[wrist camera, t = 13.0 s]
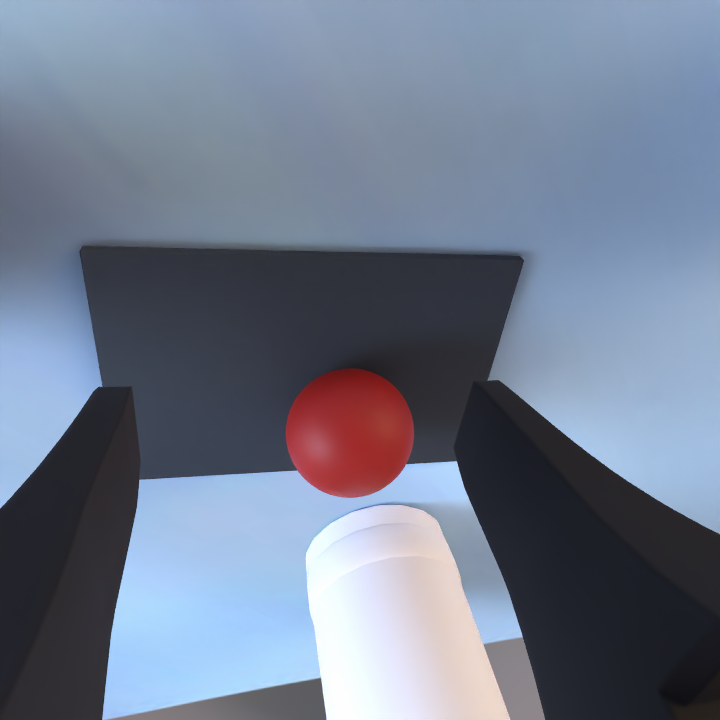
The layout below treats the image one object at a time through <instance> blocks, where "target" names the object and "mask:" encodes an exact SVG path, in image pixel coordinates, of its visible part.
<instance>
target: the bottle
mask: <svg viewBox="0 0 720 720" xmlns="http://www.w3.org/2000/svg"><path fill="white" fill-rule="evenodd" d="M306 570H307V586H308V599H309V608H310V614H311V619H312V621H313V623H314V629H315V636H316V644H317V651H318V658H319V666H320V673H321V680H322V687H323V695H324V703H325V710H326V717H327V720H510V718H509V715H508V712H507V709H506V707H505V704H504V701H503V698H502V695H501V693H500V690H499V687H498V684H497V681H496V679H495V676H494V673H493V670H492V668H491V665H490V662H489V659H488V657H487V654H486V651H485V648H484V646H483V643H482V640H481V637H480V635H479V632H478V629H477V626H476V624H475V621H474V618H473V615H472V613H471V610H470V607H469V604H468V601H467V599H466V596H465V593H464V590H463V588H462V585H461V577H460V574H459V571H458V568H457V565H456V562H455V560H454V558H453V555H452V553H451V551H450V549H449V546H448V544H447V542H446V540H445V538H444V535H443V533H442V530H441V528H440V526H439V524H438V521H437V520H436V519H434V518H433V517H432V516H430V515H429V514H427V513H426V512H425V511H423V510H420V509H416V508H412V507H408V506H404V505H376V506H372V507H368V508H364V509H360V510H357V511H353V512H351V513H349V514H347V515H345V516H343V517H341V518H339V519H337V520H335V521H333V522H331V523H330V524H329V525H328V526H327V527H326V528H325V529H324V530H323V531H321V532H320V533H319V534H318V535H317V536H316V537H315V538H314V539H313V541H312V543H311V545H310V547H309V549H308V551H307V553H306Z"/></svg>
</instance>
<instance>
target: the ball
mask: <svg viewBox="0 0 720 720" xmlns="http://www.w3.org/2000/svg"><path fill="white" fill-rule="evenodd" d="M413 441H414V424H413V419H412V415H411V412H410V409H409V407H408V405H407V402H406V401H405V399H404V397H403V396H402V395H401V393H400V392H399V391H398V390H397V388H396V387H395V386H393V385H392V384H391V383H390V382H389V381H387V380H386V379H384V378H383V377H381V376H379V375H377V374H375V373H373V372H370V371H366V370H362V369H353V368H349V369H339V370H334V371H330V372H328V373H325V374H323V375H321V376H319V377H317V378H316V379H314V380H313V381H311V382H310V383H309V384H308V385H307V386H305V388H304V389H303V390H302V391H301V392H300V393H299V394H298V396H297V397H296V399H295V401H294V403H293V405H292V407H291V409H290V411H289V415H288V418H287V424H286V442H287V448H288V452H289V454H290V457H291V460H292V462H293V464H294V465H295V467H296V469H297V470H298V472H299V473H300V474H301V475H302V477H303V478H304V479H305V480H306V481H308V482H309V483H310V484H311V485H313V486H314V487H316V488H317V489H319V490H321V491H323V492H325V493H327V494H330V495H334V496H338V497H345V498H353V497H361V496H366V495H370V494H372V493H375V492H377V491H379V490H381V489H383V488H384V487H386V486H387V485H388V484H390V483H391V482H392V481H393V480H394V479H395V478H396V477H397V476H398V475H399V474H400V473H401V471H402V470H403V468H404V467H405V465H406V463H407V461H408V459H409V457H410V454H411V451H412V447H413Z"/></svg>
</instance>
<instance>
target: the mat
mask: <svg viewBox="0 0 720 720" xmlns="http://www.w3.org/2000/svg"><path fill="white" fill-rule="evenodd" d="M80 257H81V263H82V269H83V275H84V281H85V286H86V292H87V298H88V304H89V310H90V316H91V321H92V327H93V333H94V339H95V345H96V350H97V356H98V362H99V368H100V374H101V380H102V385H103V387H124V386H132V391H133V399H134V408H135V416H136V425H137V433H138V441H139V450H140V458H141V464H140V477H139V480H140V479H157V478H174V477H192V476H209V475H226V474H243V473H260V472H278V471H295V470H297V469H296V467H295V465H294V464H293V462H292V460H291V457H290V454H289V452H288V448H287V442H286V424H287V418H288V415H289V411H290V409H291V407H292V405H293V403H294V401H295V399H296V397H297V396H298V394H299V393H300V392H301V391H302V390H303V389H304V388H305V386H307V385H308V384H309V383H310V382H311V381H313V380H314V379H316V378H317V377H319V376H321V375H323V374H325V373H328V372H330V371H334V370H339V369H349V368H353V369H362V370H366V371H370V372H373V373H375V374H377V375H379V376H381V377H383V378H384V379H386V380H387V381H389V382H390V383H391V384H392V385H393V386H395V387H396V388H397V390H398V391H399V392H400V393H401V395H402V396H403V397H404V399H405V401H406V402H407V405H408V407H409V409H410V412H411V415H412V419H413V424H414V441H413V447H412V451H411V454H410V457H409V459H408V461H407V463H406V464H415V463H432V462H450V461H457V459H456V455H455V452H454V448H453V447H454V444H455V440H456V437H457V434H458V430H459V427H460V424H461V420H462V417H463V414H464V410H465V407H466V404H467V400H468V397H469V394H470V391H471V387H472V384H473V381H487V380H488V377H489V373H490V370H491V367H492V364H493V360H494V357H495V354H496V350H497V347H498V344H499V341H500V337H501V334H502V331H503V327H504V324H505V321H506V318H507V314H508V311H509V308H510V305H511V301H512V298H513V295H514V291H515V288H516V285H517V282H518V278H519V275H520V272H521V268H522V265H523V262H524V260H523V259H522V258H521V256H497V255H452V254H408V253H363V252H318V251H274V250H229V249H185V248H140V247H95V246H82V247H81V249H80Z"/></svg>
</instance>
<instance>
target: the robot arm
mask: <svg viewBox="0 0 720 720" xmlns="http://www.w3.org/2000/svg"><path fill="white" fill-rule="evenodd" d="M453 448H454V452H455V455H456V459H457V463H458V467H459V471H460V474H461V477H462V481H463V484H464V487H465V490H466V492H467V495H468V497H469V500H470V502H471V504H472V507H473V509H474V511H475V514H476V516H477V518H478V521H479V523H480V525H481V527H482V530H483V532H484V534H485V537H486V539H487V541H488V543H489V546H490V548H491V550H492V553H493V555H494V557H495V559H496V562H497V564H498V566H499V569H500V571H501V573H502V576H503V578H504V581H505V583H506V586H507V589H508V591H509V594H510V597H511V600H512V604H513V607H514V610H515V613H516V616H517V619H518V623H519V626H520V629H521V632H522V635H523V639H524V642H525V645H526V649H527V653H528V656H529V659H530V663H531V666H532V670H533V673H534V677H535V681H536V685H537V689H538V693H539V696H540V700H541V704H542V708H543V712H544V716H545V720H720V534H718V533H716V532H714V531H712V530H710V529H708V528H706V527H704V526H702V525H700V524H699V523H697V522H695V521H693V520H691V519H689V518H688V517H686V516H684V515H682V514H680V513H679V512H677V511H675V510H673V509H671V508H670V507H668V506H666V505H665V504H663V503H661V502H659V501H658V500H656V499H655V498H653V497H651V496H650V495H648V494H647V493H645V492H644V491H642V490H640V489H639V488H637V487H636V486H634V485H633V484H631V483H629V482H628V481H626V480H625V479H623V478H622V477H621V476H619V475H618V474H616V473H615V472H613V471H612V470H610V469H609V468H608V467H606V466H605V465H604V464H602V463H601V462H600V461H598V460H597V459H596V458H594V457H593V456H591V455H590V454H589V453H587V452H586V451H585V450H584V449H582V448H581V447H580V446H578V445H577V444H576V443H575V442H573V441H572V440H571V439H570V438H568V437H567V436H566V435H565V434H563V433H562V432H561V431H560V430H558V429H557V428H556V427H555V426H554V425H552V424H551V423H550V422H549V421H548V420H546V419H545V418H544V417H543V416H542V415H540V414H539V413H538V412H537V411H536V410H535V409H533V408H532V407H531V406H530V405H529V404H527V403H526V402H525V401H524V400H523V399H521V398H520V397H519V396H518V395H517V394H515V393H514V392H513V391H512V390H510V389H509V388H508V387H507V386H505V385H504V384H503V383H501V382H500V381H499V380H494V381H473V384H472V387H471V391H470V394H469V397H468V400H467V404H466V407H465V410H464V414H463V417H462V420H461V424H460V427H459V430H458V434H457V437H456V440H455V444H454V447H453ZM140 464H141V458H140V450H139V441H138V433H137V425H136V416H135V408H134V399H133V391H132V386H124V387H98V388H97V389H96V390H95V391H93V393H92V394H91V396H90V398H89V399H88V401H87V402H86V404H85V405H84V407H83V408H82V410H81V411H80V412H79V414H78V415H77V417H76V418H75V420H74V421H73V422H72V424H71V425H70V426H69V428H68V429H67V431H66V432H65V433H64V435H63V436H62V437H61V439H60V440H59V441H58V442H57V444H56V445H55V446H54V447H53V449H52V450H51V451H50V452H49V454H48V455H47V456H46V457H45V459H44V460H43V461H42V463H41V464H40V465H39V466H38V467H37V469H36V470H35V471H34V472H33V473H32V474H31V475H30V477H29V478H28V479H27V480H26V481H25V482H24V483H23V484H22V486H21V487H20V488H19V489H18V490H17V491H16V492H15V493H14V495H13V496H12V497H11V498H10V499H9V500H8V501H7V502H6V503H5V504H4V505H3V506H2V507H1V509H0V720H102V715H103V704H104V694H105V684H106V675H107V666H108V657H109V648H110V639H111V631H112V625H113V619H114V613H115V608H116V603H117V598H118V594H119V589H120V584H121V580H122V575H123V570H124V565H125V561H126V556H127V551H128V547H129V542H130V537H131V532H132V528H133V523H134V518H135V513H136V508H137V499H138V488H139V477H140Z"/></svg>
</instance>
